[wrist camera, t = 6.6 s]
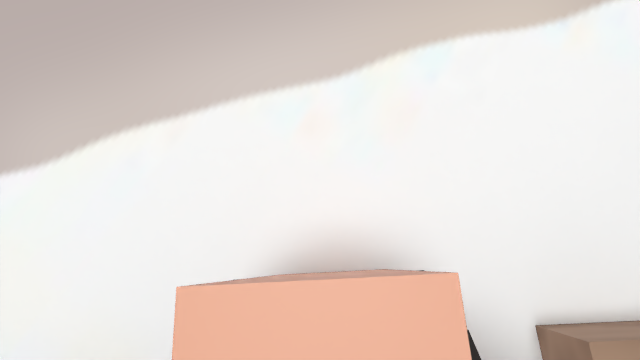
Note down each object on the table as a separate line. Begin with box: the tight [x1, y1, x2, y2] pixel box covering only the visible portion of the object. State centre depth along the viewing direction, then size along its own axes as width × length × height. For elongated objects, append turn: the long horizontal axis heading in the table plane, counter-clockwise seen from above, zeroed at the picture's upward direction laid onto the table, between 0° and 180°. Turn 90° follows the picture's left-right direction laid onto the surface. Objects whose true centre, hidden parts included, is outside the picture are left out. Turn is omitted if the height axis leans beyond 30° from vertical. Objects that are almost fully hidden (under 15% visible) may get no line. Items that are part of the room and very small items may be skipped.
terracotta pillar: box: [172, 269, 472, 360], centre depth 10 cm, size 5×5×10 cm
